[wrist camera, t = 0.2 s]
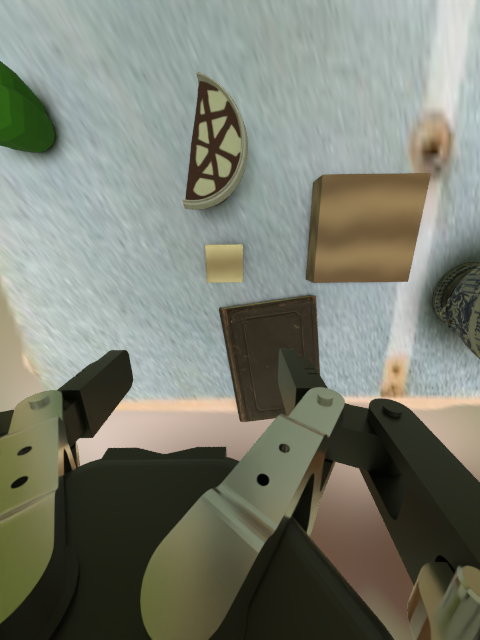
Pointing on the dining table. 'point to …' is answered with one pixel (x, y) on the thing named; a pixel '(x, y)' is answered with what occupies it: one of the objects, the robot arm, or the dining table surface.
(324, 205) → the block
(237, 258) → the maple block
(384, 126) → the dining table surface
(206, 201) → the half round tub
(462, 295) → the decorative vase
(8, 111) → the bell pepper
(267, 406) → the hardcover book
